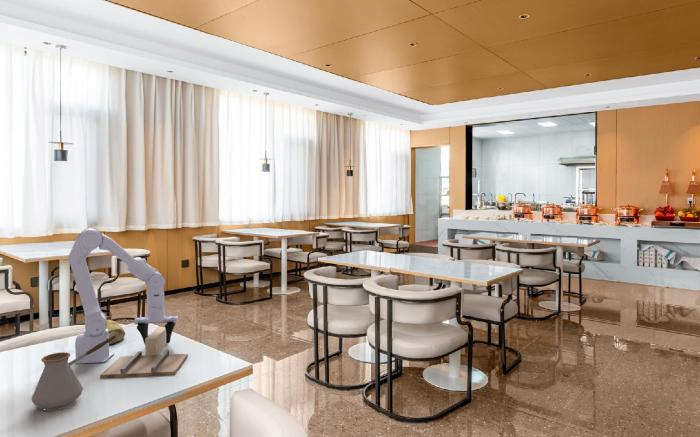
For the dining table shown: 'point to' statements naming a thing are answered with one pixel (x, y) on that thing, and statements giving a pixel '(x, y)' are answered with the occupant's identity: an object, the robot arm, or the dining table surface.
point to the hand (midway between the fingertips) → (157, 342)
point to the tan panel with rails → (145, 365)
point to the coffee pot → (60, 380)
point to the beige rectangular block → (155, 341)
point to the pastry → (115, 331)
